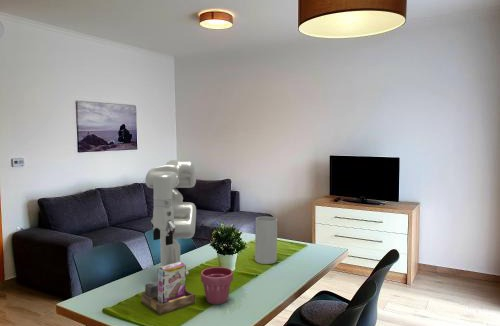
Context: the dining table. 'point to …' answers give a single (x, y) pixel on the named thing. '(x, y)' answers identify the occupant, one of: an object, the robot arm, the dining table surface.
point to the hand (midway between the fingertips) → (162, 242)
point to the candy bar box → (171, 282)
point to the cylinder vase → (266, 240)
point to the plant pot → (216, 283)
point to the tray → (152, 302)
